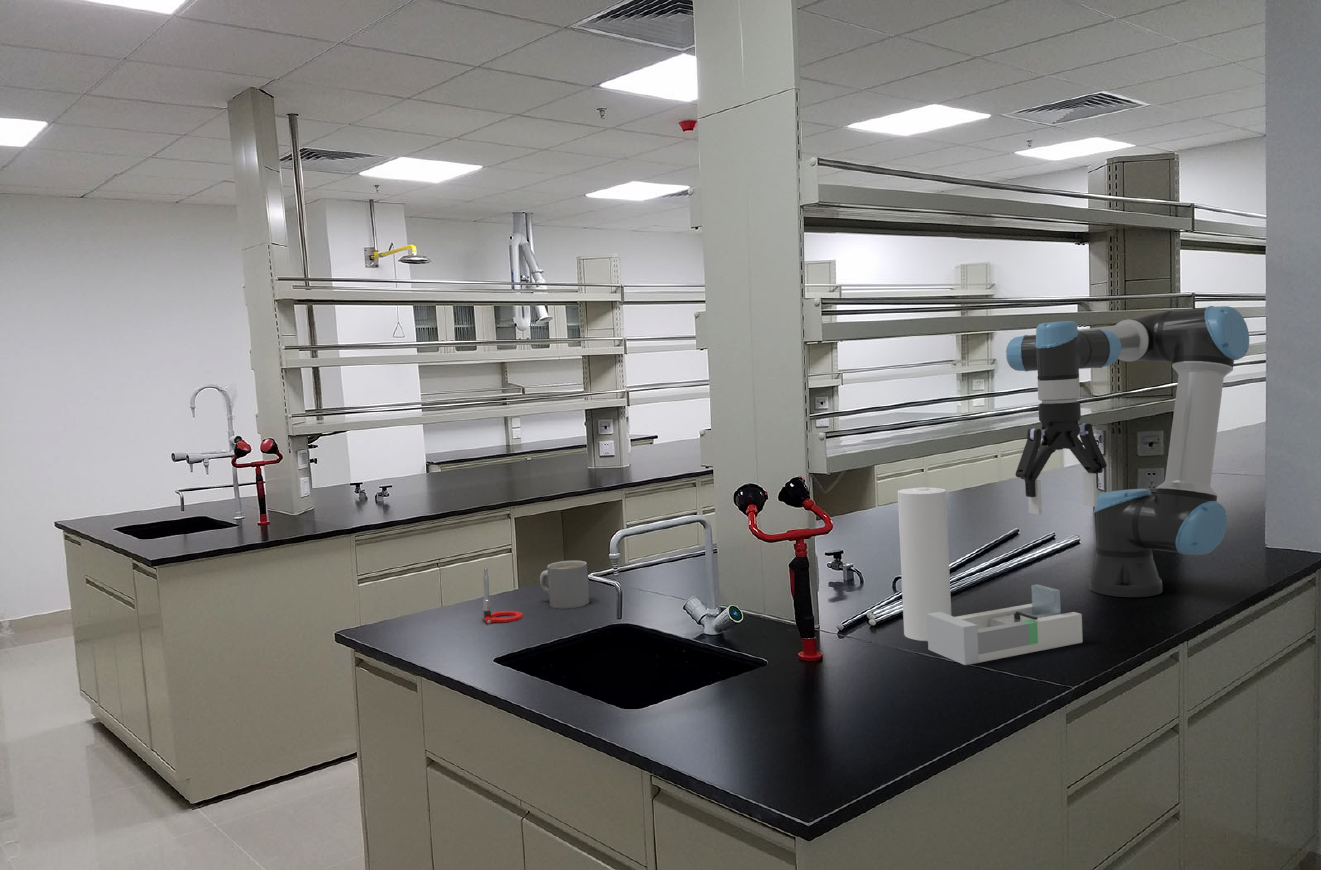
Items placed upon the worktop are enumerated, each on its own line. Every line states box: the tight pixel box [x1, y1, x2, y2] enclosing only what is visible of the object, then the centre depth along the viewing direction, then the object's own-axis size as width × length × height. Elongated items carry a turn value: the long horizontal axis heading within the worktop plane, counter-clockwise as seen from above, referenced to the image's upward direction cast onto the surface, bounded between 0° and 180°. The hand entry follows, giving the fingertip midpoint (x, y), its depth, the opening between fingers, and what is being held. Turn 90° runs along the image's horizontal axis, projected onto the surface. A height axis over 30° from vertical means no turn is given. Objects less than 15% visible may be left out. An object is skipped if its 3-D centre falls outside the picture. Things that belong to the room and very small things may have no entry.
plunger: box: [989, 583, 1062, 627], centre depth 177 cm, size 16×8×8 cm, turn 109°
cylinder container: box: [897, 486, 952, 642], centre depth 187 cm, size 9×9×30 cm
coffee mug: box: [539, 560, 590, 610], centre depth 234 cm, size 13×10×10 cm
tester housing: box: [927, 603, 1083, 666], centre depth 177 cm, size 27×11×7 cm, turn 110°
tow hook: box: [482, 567, 524, 625], centre depth 222 cm, size 8×13×9 cm
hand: (1063, 509), depth 181 cm, fingers open, 13 cm apart
